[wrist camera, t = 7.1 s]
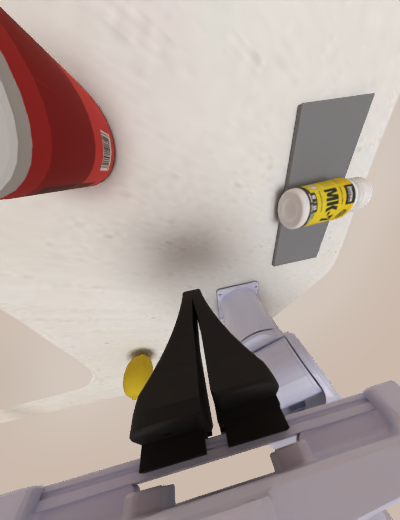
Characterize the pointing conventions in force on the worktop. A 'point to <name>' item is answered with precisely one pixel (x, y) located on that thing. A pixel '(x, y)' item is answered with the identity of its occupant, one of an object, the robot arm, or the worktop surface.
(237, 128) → the worktop surface
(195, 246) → the worktop surface
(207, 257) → the worktop surface
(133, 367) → the lemon
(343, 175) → the mat
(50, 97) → the canned food
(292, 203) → the supplement bottle
